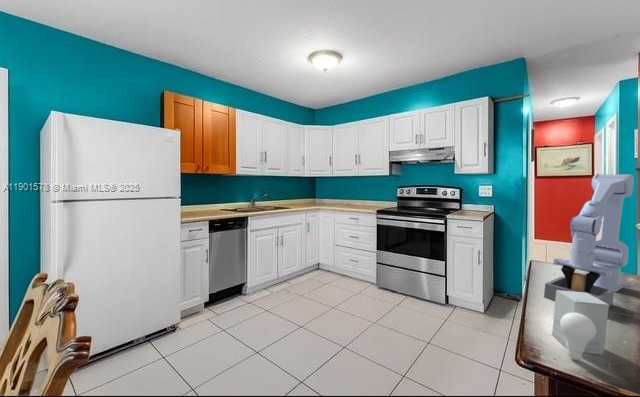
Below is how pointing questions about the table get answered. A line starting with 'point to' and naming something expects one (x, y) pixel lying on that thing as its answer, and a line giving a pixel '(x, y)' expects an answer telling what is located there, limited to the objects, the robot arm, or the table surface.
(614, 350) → the table surface
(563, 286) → the box
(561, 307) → the supplement box
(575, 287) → the peg
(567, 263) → the robot arm
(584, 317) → the lightbulb
